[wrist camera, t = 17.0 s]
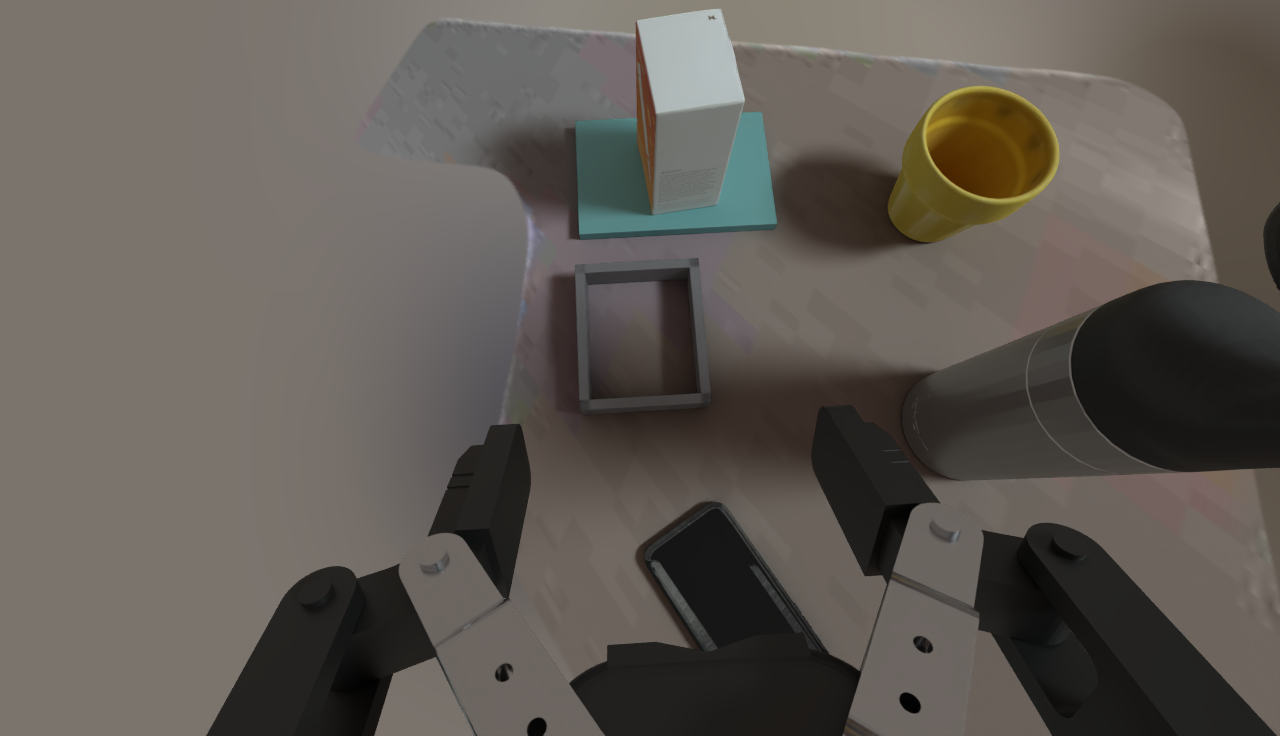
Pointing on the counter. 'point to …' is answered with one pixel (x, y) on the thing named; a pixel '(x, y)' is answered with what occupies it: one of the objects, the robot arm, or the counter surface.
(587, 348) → the tray frame
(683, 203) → the small box
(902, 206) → the plant pot
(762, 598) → the phone
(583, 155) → the board
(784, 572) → the counter surface
